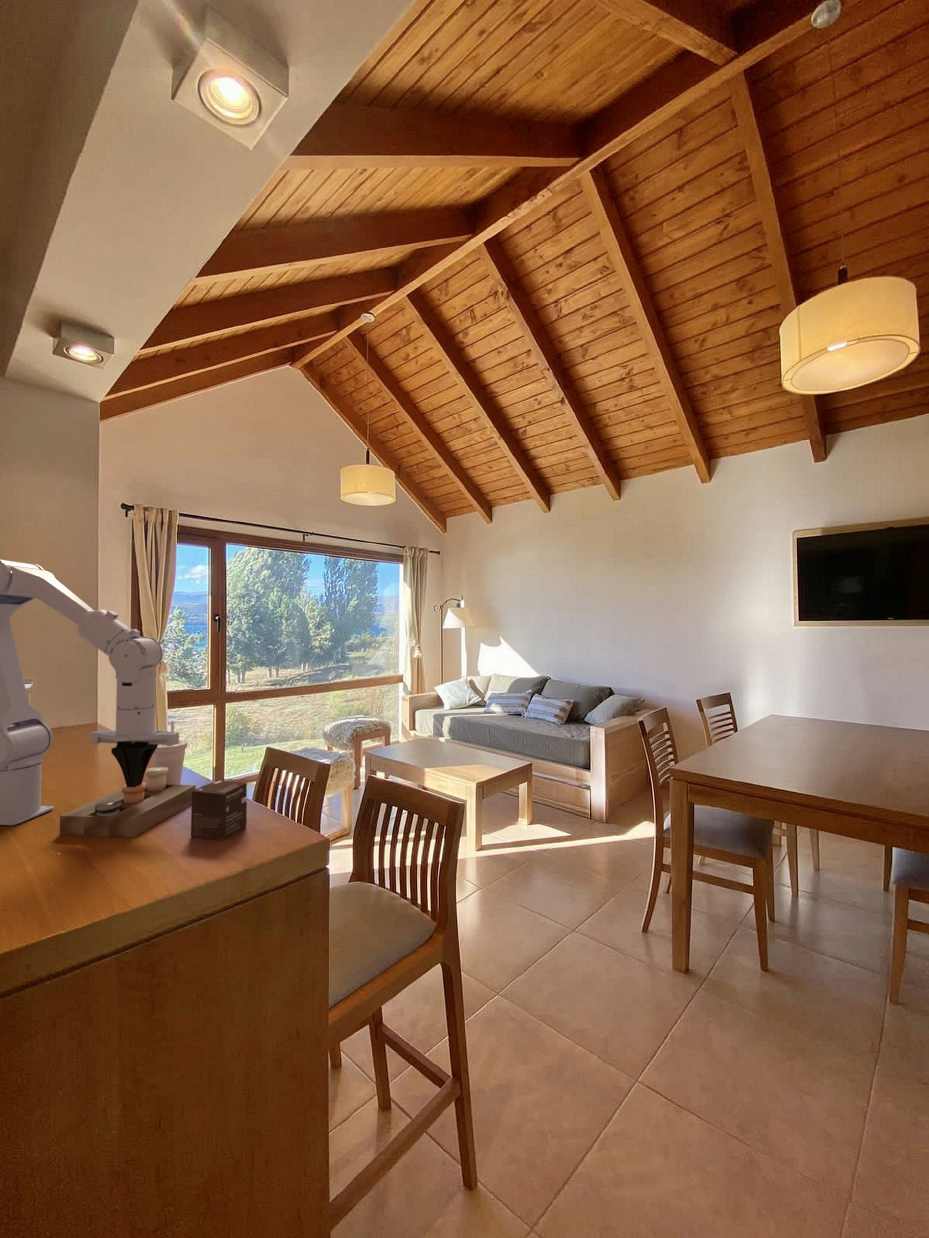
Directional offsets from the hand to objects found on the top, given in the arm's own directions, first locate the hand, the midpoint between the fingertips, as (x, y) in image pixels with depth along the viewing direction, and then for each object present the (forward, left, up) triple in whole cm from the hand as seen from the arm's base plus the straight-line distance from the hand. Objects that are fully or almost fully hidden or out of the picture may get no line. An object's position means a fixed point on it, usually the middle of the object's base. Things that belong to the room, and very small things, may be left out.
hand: (134, 785), depth 90 cm
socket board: (0, 0, -5) cm, 5 cm away
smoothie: (-2, +13, -6) cm, 14 cm away
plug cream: (0, +6, -3) cm, 7 cm away
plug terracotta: (0, 0, -4) cm, 4 cm away
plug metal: (0, -6, -5) cm, 8 cm away
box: (+18, -5, -6) cm, 20 cm away
